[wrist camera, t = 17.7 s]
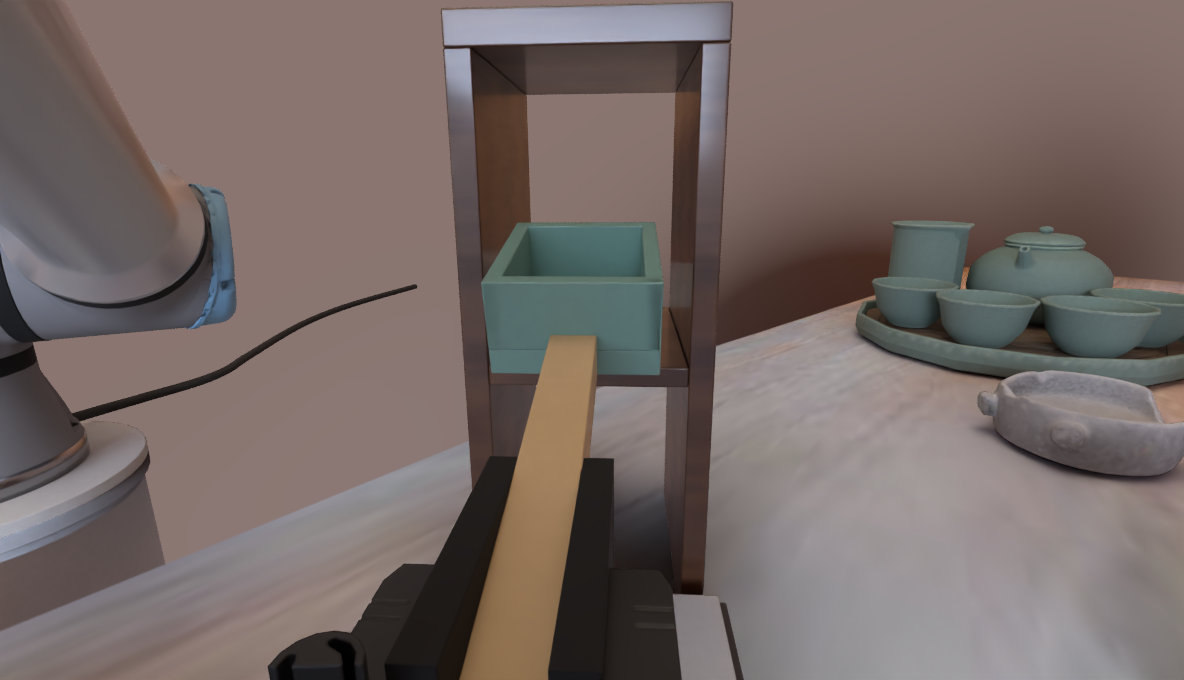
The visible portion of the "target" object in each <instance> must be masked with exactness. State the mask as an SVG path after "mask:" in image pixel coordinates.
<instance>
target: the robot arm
mask: <svg viewBox="0 0 1184 680" xmlns="http://www.w3.org/2000/svg"><path fill="white" fill-rule="evenodd" d="M234 277H235V275H234V258H233V248H232V240H231V231H230V224H229V217H228V210H227V205H226V202H225V197H224V195H223V193H222V192H221V191H220V190H218V189H217V188H214V187H203V186H201V185H199V184H189V185H187V184H186V183H185V182H184V181H183V180H182V179H181V178H180V177H179V176H178V175H177V174H175V173H174V172H173V171H172V170H170V169H169V168H167V167H166V166H164V165H163V164H161V163H159V162H157V161H155V160H153V159H151V158H149V156H148V155H147V153H146V151H145V149H144V147H143V145H142V143H141V142H140V140H139V138H138V136H137V134H136V133H135V130H134V129H133V127H132V125H131V123H130V121H129V119H128V117H127V115H126V114H125V112H124V110H123V108H122V106H121V104H120V102H119V101H118V99H117V97H116V96H115V93H114V91H113V89H112V88H111V86H110V84H109V82H108V80H107V78H106V77H105V75H104V73H103V71H102V69H101V67H100V65H99V63H98V62H97V60H96V58H95V56H94V54H93V53H92V50H91V49H90V47H89V45H88V43H87V41H86V39H85V37H84V35H83V34H82V32H81V30H80V28H79V26H78V24H77V22H76V21H75V19H74V17H73V15H72V13H71V11H70V9H69V8H68V6H67V4H66V2H65V0H0V503H2V502H5V501H8V500H11V499H14V498H16V497H19V496H21V495H24V494H26V493H29V492H31V491H34V490H36V489H38V488H40V487H43V486H45V485H47V484H49V483H51V482H53V481H55V480H57V479H59V478H61V477H62V476H64V475H66V474H67V473H69V472H71V471H72V470H74V469H75V468H76V467H78V466H79V465H80V464H81V463H82V462H83V461H84V460H85V459H86V458H87V457H88V455H89V453H90V446H89V442H88V438H87V434H86V430H85V428H84V427H83V426H82V424H81V423H80V421H83V420H86V419H89V418H93V417H95V416H99V415H102V414H105V413H109V412H112V411H116V410H119V409H122V408H126V407H129V406H133V405H136V404H139V403H143V402H146V401H149V400H152V399H156V398H160V397H163V396H167V395H170V394H174V393H177V392H180V391H184V390H187V389H190V388H194V387H197V386H200V385H203V384H205V383H208V382H211V381H213V380H216V379H218V378H220V377H222V376H224V375H226V374H228V373H230V372H232V371H233V370H235V369H237V368H238V367H239V366H241V365H242V364H243V363H245V362H246V361H248V360H249V359H251V358H252V357H254V356H256V355H257V354H259V353H261V352H262V351H264V350H265V349H267V348H268V347H270V346H271V345H273V344H274V343H276V342H278V341H279V340H281V339H283V338H284V337H286V336H288V335H289V334H291V333H293V332H295V331H296V330H298V329H300V328H302V327H304V326H306V325H308V324H310V323H312V322H314V321H317V320H319V319H322V318H324V317H326V316H329V315H331V314H334V313H337V312H339V311H342V310H345V309H348V308H351V307H354V306H357V305H360V304H363V303H367V302H370V301H374V300H377V299H380V298H384V297H387V296H391V295H395V294H398V293H402V292H405V291H408V290H412V289H416V288H417V285H411V286H407V287H404V288H400V289H396V290H392V291H388V292H385V293H381V294H377V295H374V296H370V297H367V298H363V299H360V300H357V301H353V302H350V303H347V304H344V305H341V306H338V307H335V308H333V309H330V310H327V311H325V312H322V313H319V314H317V315H315V316H313V317H310V318H308V319H306V320H304V321H302V322H299V323H297V324H296V325H294V326H292V327H290V328H288V329H286V330H284V331H282V332H281V333H279V334H277V335H276V336H274V337H272V338H271V339H269V340H267V341H265V342H264V343H262V344H260V345H259V346H257V347H256V348H254V349H252V350H251V351H249V352H248V353H246V354H244V355H242V356H241V357H239V358H238V359H236V360H235V361H233V362H232V363H230V364H229V365H227V366H225V367H224V368H221V369H219V370H217V371H215V372H212V373H209V374H207V375H204V376H201V377H198V378H195V379H192V380H189V381H185V382H182V383H179V384H175V385H171V386H168V387H164V388H161V389H157V390H153V391H150V392H146V393H142V394H139V395H136V396H132V397H128V398H125V399H121V400H117V401H114V402H110V403H107V404H103V405H100V406H96V407H92V408H89V409H86V410H83V411H79V412H76V413H71V412H70V410H69V408H68V407H67V405H66V404H65V402H64V401H63V400H62V398H61V397H60V396H59V394H58V393H57V392H56V390H55V389H54V388H53V386H52V385H51V384H50V382H49V381H48V380H47V378H46V377H45V376H44V375H43V373H42V372H41V370H40V368H39V364H38V361H37V357H36V353H35V350H34V346H33V342H37V341H49V340H53V339H64V338H74V337H86V336H97V335H108V334H120V333H130V332H142V331H153V330H163V329H175V328H184V327H185V328H187V329H188V328H190V329H195V328H198V327H200V326H202V325H208V324H215V323H221V322H224V321H227V320H228V319H230V318H231V317H232V316H233V314H234V313H235V310H236V286H235V279H234ZM517 459H518V457H507V456H490V457H489V459H488V461H487V463H486V465H485V466H484V468H483V470H482V472H481V474H480V476H479V478H478V480H477V482H476V484H475V486H474V488H473V490H472V492H471V494H470V496H469V498H468V500H467V502H466V504H465V506H464V508H463V510H462V512H461V514H460V516H459V518H458V520H457V521H456V523H455V525H454V527H453V529H452V531H451V533H450V535H449V537H448V539H447V541H446V543H445V545H444V547H443V549H442V551H441V553H440V555H439V557H438V559H437V561H436V563H435V565H428V564H403V565H402V566H401V567H399V568H398V569H397V570H396V571H394V572H393V573H392V574H391V575H389V576H388V577H387V578H386V579H384V581H383V582H382V584H381V585H380V587H379V589H378V590H377V592H376V593H375V595H374V597H373V598H372V602H371V603H369V605H368V606H367V608H366V610H365V611H364V613H363V615H362V619H361V620H359V621H358V623H357V624H356V626H355V627H354V629H353V631H352V632H351V633H348V632H341V631H329V632H323V633H316V634H314V635H311V636H309V637H306V638H304V639H301V640H299V641H297V642H295V643H294V644H292V645H291V646H289V647H288V648H286V649H285V650H283V651H282V652H280V653H279V655H278V656H277V657H276V658H275V659H274V660H273V661H272V662H271V663H270V665H269V666H268V671H269V676H270V680H459V678H460V674H461V671H462V667H463V663H464V659H465V656H466V652H467V648H468V644H469V640H470V637H471V633H472V629H473V625H474V622H475V618H476V614H477V610H478V606H479V603H480V599H481V595H482V591H483V588H484V584H485V580H486V576H487V572H488V569H489V565H490V561H491V557H492V554H493V550H494V546H495V542H496V538H497V535H498V531H499V527H500V523H501V520H502V516H503V512H504V508H505V504H506V501H507V497H508V493H509V489H510V486H511V482H512V478H513V474H514V470H515V466H516V462H517ZM613 557H614V459H609V458H584V461H583V467H582V470H581V474H580V480H579V486H578V492H577V498H576V504H575V510H574V516H573V522H572V528H571V534H570V541H569V547H568V553H567V559H566V565H565V571H564V577H563V583H562V589H561V595H560V601H559V607H558V613H557V619H556V625H555V631H554V637H553V643H552V649H551V655H550V661H549V667H548V680H682V676H681V667H680V657H679V648H678V639H677V630H676V620H675V612H674V601H673V592H672V587H671V586H670V584H669V583H668V581H667V580H666V578H665V577H664V576H663V574H662V573H661V571H660V570H647V569H615V568H613Z"/></svg>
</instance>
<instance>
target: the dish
mask: <svg viewBox="0 0 1184 680" xmlns="http://www.w3.org/2000/svg"><path fill="white" fill-rule="evenodd" d="M978 407H979V409H980V410H981V412H982V413H983V414H984V415H989V416H993V424H994V427H995V429H996V431H997V432H998V433H999V434H1000V435H1001V436H1002V437H1004V438H1005V439H1007V440H1008V441H1010V442H1011V443H1013V444H1015V445H1017V446H1019V447H1021V448H1023V449H1025V450H1027V451H1029V452H1031V453H1034V454H1036V455H1038V456H1041V457H1043V458H1046V459H1049V460H1052V461H1055V462H1058V463H1061V464H1064V465H1068V466H1072V467H1076V468H1080V469H1085V470H1089V471H1095V472H1100V473H1106V474H1114V475H1125V476H1153V475H1159V474H1163V473H1166V472H1168V471H1170V470H1172V469H1173V468H1175V466H1176V465H1177V464H1178V463H1179V462H1180V461H1181V459H1182V458H1183V456H1184V421H1183V422H1177V423H1169V424H1167V423H1165V422H1164V420H1163V418H1162V416H1161V414H1160V412H1159V410H1158V408H1157V406H1156V403H1155V399H1154V397H1153V395H1152V392H1151V390H1150V389H1148V388H1147V387H1144V386H1141V385H1138V384H1135V383H1131V382H1127V381H1123V380H1119V379H1114V378H1109V377H1104V376H1098V375H1092V374H1085V373H1076V372H1066V371H1053V370H1050V371H1044V372H1035V371H1028V372H1023V373H1018V374H1015V375H1013V376H1010V377H1008V378H1006V379H1004V380H1002V381H1001V382H1000V383H999V385H998V387H997V389H996V391H995V392H994V393H989V392H986V391H982V392H980V393H979V395H978Z"/></svg>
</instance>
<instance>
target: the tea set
mask: <svg viewBox="0 0 1184 680" xmlns="http://www.w3.org/2000/svg"><path fill="white" fill-rule="evenodd" d="M891 224H892V225H894V233H893V241H892V249H891V256H890V265H889V273H888V277H883V278H877V279H873V281H872V285H873V287H874V289H875V296H876V299H875V300H870V301H865V302H863V303H862V305H861V307H860V309H859V311H858V313H857V318H856V327H857V330H858V333H859V334H861V335H863V336H864V337H866V338H868V339H870V340H871V341H873V342H875V343H876V344H878V345H880V346H881V347H883V348H885V349H886V350H889V351H891V352H894V353H897V354H901V355H904V356H908V357H911V358H915V359H918V360H922V361H926V362H929V363H933V364H936V365H940V366H944V367H947V368H951V369H954V370H958V371H965V372H971V373H978V374H984V375H991V376H998V377H1004V378H1008V377H1010V376H1013V375H1015V374H1018V373H1023V372H1028V371H1035V372H1044V371H1050V370H1053V371H1066V372H1076V373H1085V374H1092V375H1098V376H1104V377H1109V378H1114V379H1119V380H1123V381H1127V382H1131V383H1135V384H1138V385H1141V386H1147V385H1153V384H1158V383H1163V382H1169V381H1174V380H1179V379H1184V294H1177V293H1171V292H1163V291H1153V290H1143V289H1124V288H1112V287H1113V280H1114V277H1113V275H1112V273H1111V271H1110V269H1109V268H1108V267H1107V266H1106V265H1105V264H1104V263H1103V261H1102V260H1101V259H1099V258H1097V257H1095V256H1094V255H1092V254H1090V253H1088V252H1086V251H1084V250H1081V249H1083V248H1084V246H1083V245H1086V243H1085V242H1084V240H1082V239H1081V238H1079V237H1076V236H1072V235H1068V234H1058V233H1051V232H1053V230H1054V229H1053V228H1052V227H1049V226H1044V227H1041V228H1040V229H1039V232H1042V233H1038V232H1035V233H1033V232H1026V233H1018V234H1013V235H1011V236H1009V237H1007V238H1006V239H1005V240H1004V241H1005V243H1004V244H1005V245H1006V246H1002V247H1000V248H997V249H995V250H992V251H990V252H987V253H986V254H985V255H983V256H982V257H980V258H979V259H977V260H976V261H975V262H974V263H973V265H972V266H971V267H970V270H969V274H968V277H967V281H966V288H967V289H960V286H961V280H962V274H963V267H964V261H965V254H966V248H967V243H968V236H969V230H970V229H971V228H972V227H974V226H975V225H974V224H972V223H964V222H947V221H895V222H891Z"/></svg>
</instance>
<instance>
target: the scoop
mask: <svg viewBox="0 0 1184 680" xmlns="http://www.w3.org/2000/svg"><path fill="white" fill-rule="evenodd" d="M481 286H482V295H483V304H484V313H485V321H486V330H487V339H488V347H489V356H490V364H491V372H492V373H527V374H540V376H539V379H538V383H537V387H536V391H535V395H534V398H533V402H532V406H531V410H530V413H529V417H528V421H527V425H526V428H525V432H524V436H523V440H522V444H521V447H520V451H519V455H518V459H517V462H516V466H515V470H514V474H513V478H512V482H511V486H510V489H509V493H508V497H507V501H506V504H505V508H504V512H503V516H502V520H501V523H500V527H499V531H498V535H497V538H496V542H495V546H494V550H493V554H492V557H491V561H490V565H489V569H488V572H487V576H486V580H485V584H484V588H483V591H482V595H481V599H480V603H479V606H478V610H477V614H476V618H475V622H474V625H473V629H472V633H471V637H470V640H469V644H468V648H467V652H466V656H465V659H464V663H463V667H462V671H461V674H460V678H459V680H548V667H549V661H550V655H551V649H552V643H553V637H554V631H555V625H556V619H557V613H558V607H559V601H560V595H561V589H562V583H563V577H564V571H565V565H566V559H567V553H568V547H569V541H570V534H571V528H572V522H573V516H574V510H575V504H576V498H577V492H578V486H579V480H580V474H581V470H582V467H583V461H584V458H589V457H590V446H591V436H592V425H593V415H594V404H595V394H596V383H597V374H605V375H659V374H660V362H661V338H662V313H663V287H664V283H663V276H662V268H661V261H660V253H659V247H658V239H657V232H656V224H655V222H630V223H629V222H611V223H609V222H607V223H606V222H605V223H603V222H602V223H599V222H596V223H517V224H516V226H515V228H514V229H513V231H512V233H511V234H510V236H509V238H508V239H507V241H506V243H505V244H504V246H503V248H502V249H501V251H500V253H499V254H498V256H497V258H496V259H495V261H494V263H493V264H492V266H491V268H490V269H489V271H488V273H487V274H486V276H485V277H484V279H483V280H482V282H481Z"/></svg>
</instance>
